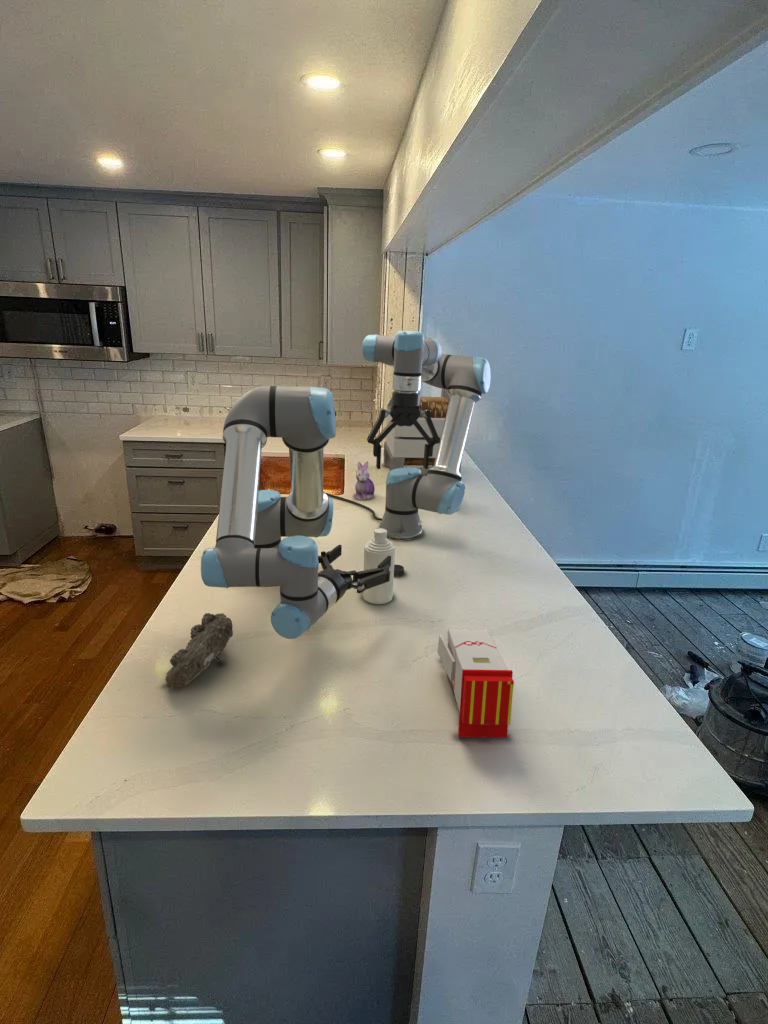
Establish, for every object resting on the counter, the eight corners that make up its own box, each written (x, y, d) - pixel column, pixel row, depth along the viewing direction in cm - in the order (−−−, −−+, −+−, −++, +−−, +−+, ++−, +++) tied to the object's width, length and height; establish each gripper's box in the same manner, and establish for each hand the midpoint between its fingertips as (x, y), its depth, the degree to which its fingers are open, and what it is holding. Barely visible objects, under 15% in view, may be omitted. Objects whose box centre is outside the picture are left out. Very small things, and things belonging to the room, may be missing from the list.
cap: (393, 577, 168) (393, 571, 167) (386, 571, 171) (386, 565, 171) (406, 574, 169) (406, 569, 169) (399, 568, 173) (399, 563, 173)
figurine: (359, 501, 230) (360, 466, 225) (349, 494, 239) (349, 459, 234) (379, 499, 235) (381, 464, 230) (369, 491, 243) (370, 458, 238)
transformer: (382, 463, 289) (386, 382, 275) (445, 464, 293) (451, 384, 279) (390, 482, 257) (394, 392, 243) (460, 483, 261) (468, 394, 247)
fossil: (188, 616, 134) (233, 586, 129) (216, 643, 137) (261, 615, 132) (144, 681, 114) (195, 649, 109) (178, 711, 117) (230, 682, 112)
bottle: (369, 587, 161) (371, 523, 154) (396, 593, 158) (400, 527, 152) (358, 600, 154) (360, 533, 147) (386, 606, 151) (390, 538, 144)
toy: (488, 613, 130) (523, 677, 101) (484, 667, 133) (517, 744, 104) (435, 612, 130) (455, 676, 101) (432, 666, 133) (451, 743, 103)
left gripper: (274, 593, 129) (320, 558, 147) (374, 620, 120) (410, 579, 138) (273, 563, 126) (320, 531, 145) (375, 589, 117) (412, 551, 136)
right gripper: (362, 392, 146) (359, 471, 154) (455, 394, 151) (448, 471, 158) (358, 388, 153) (356, 464, 161) (447, 390, 158) (441, 464, 165)
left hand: (364, 555), depth 142 cm, fingers open, 13 cm apart
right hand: (402, 467), depth 159 cm, fingers open, 13 cm apart
